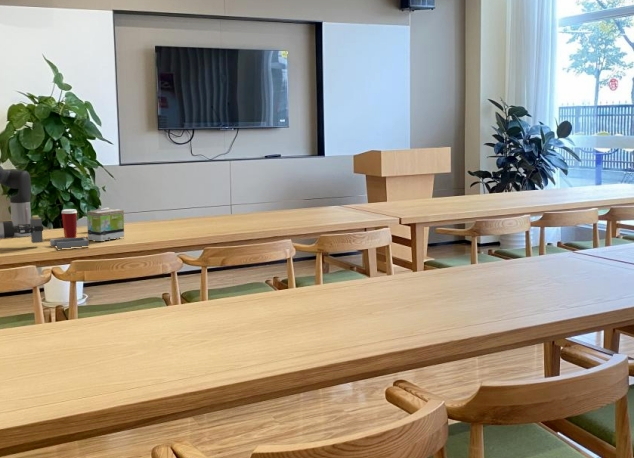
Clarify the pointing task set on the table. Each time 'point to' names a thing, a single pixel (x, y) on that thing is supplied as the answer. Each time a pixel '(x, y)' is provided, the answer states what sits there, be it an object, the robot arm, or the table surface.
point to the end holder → (71, 242)
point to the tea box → (105, 224)
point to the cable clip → (52, 242)
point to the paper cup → (69, 222)
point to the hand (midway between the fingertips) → (42, 227)
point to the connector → (37, 235)
